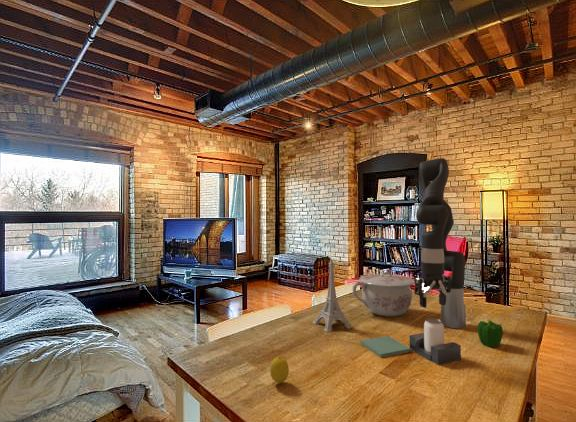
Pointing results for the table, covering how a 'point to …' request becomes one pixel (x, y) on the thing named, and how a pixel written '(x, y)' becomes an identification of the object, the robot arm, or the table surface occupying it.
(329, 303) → the eiffel tower
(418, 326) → the table surface
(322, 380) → the table surface
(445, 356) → the block
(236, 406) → the table surface
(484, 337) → the bell pepper
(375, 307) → the chamber pot
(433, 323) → the can
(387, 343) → the mat
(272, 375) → the lemon
